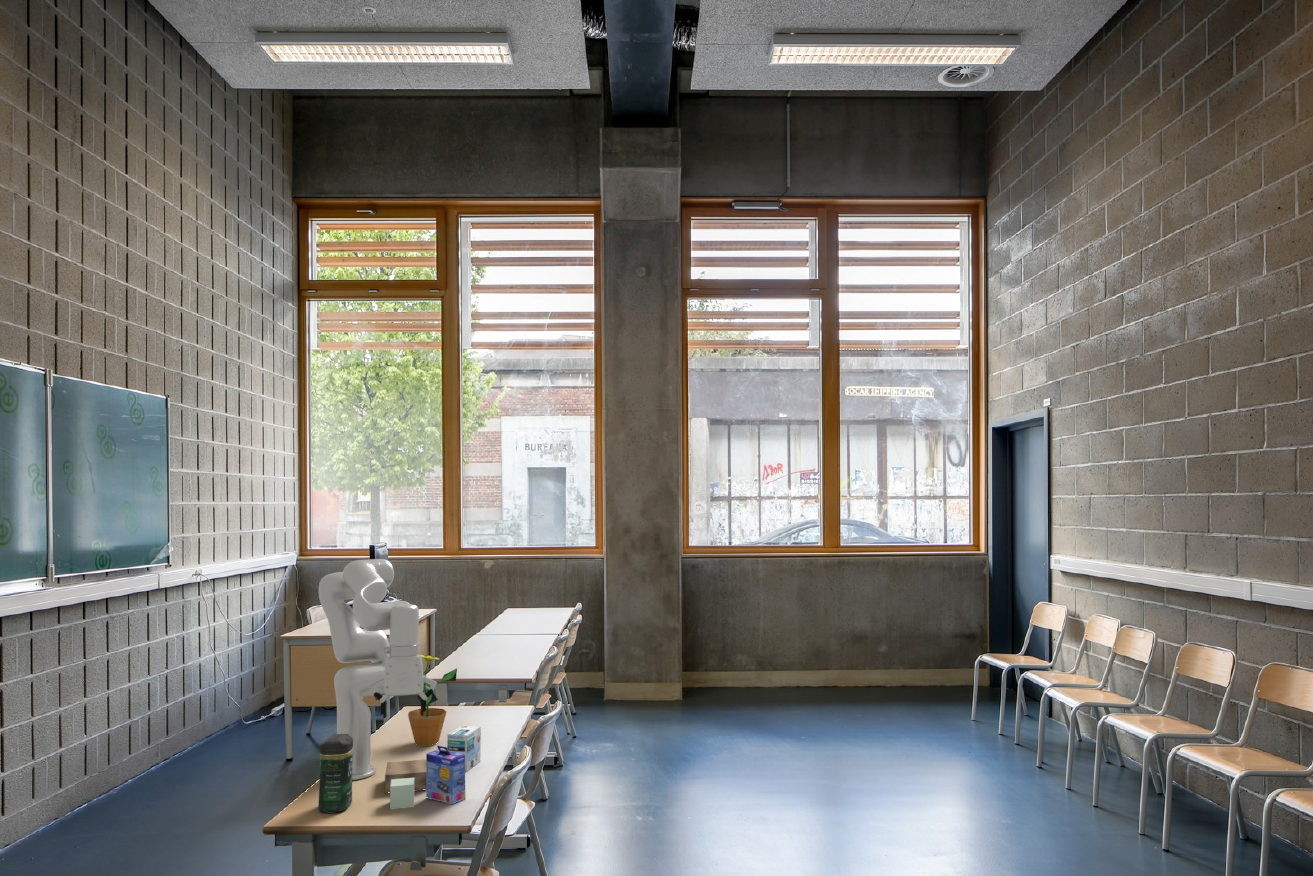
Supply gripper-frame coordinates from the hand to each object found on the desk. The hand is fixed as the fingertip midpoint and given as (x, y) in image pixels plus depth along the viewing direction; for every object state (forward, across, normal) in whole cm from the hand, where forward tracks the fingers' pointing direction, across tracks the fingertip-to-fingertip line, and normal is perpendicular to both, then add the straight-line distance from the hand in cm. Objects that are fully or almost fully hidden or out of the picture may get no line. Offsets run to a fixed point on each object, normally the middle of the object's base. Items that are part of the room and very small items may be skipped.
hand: (403, 715), depth 242 cm
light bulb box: (+24, +17, +30) cm, 42 cm away
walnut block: (+23, +1, +16) cm, 28 cm away
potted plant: (+23, +6, +58) cm, 63 cm away
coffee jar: (+24, -17, +2) cm, 29 cm away
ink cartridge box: (+24, +11, +2) cm, 26 cm away
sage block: (+24, 0, 0) cm, 24 cm away
